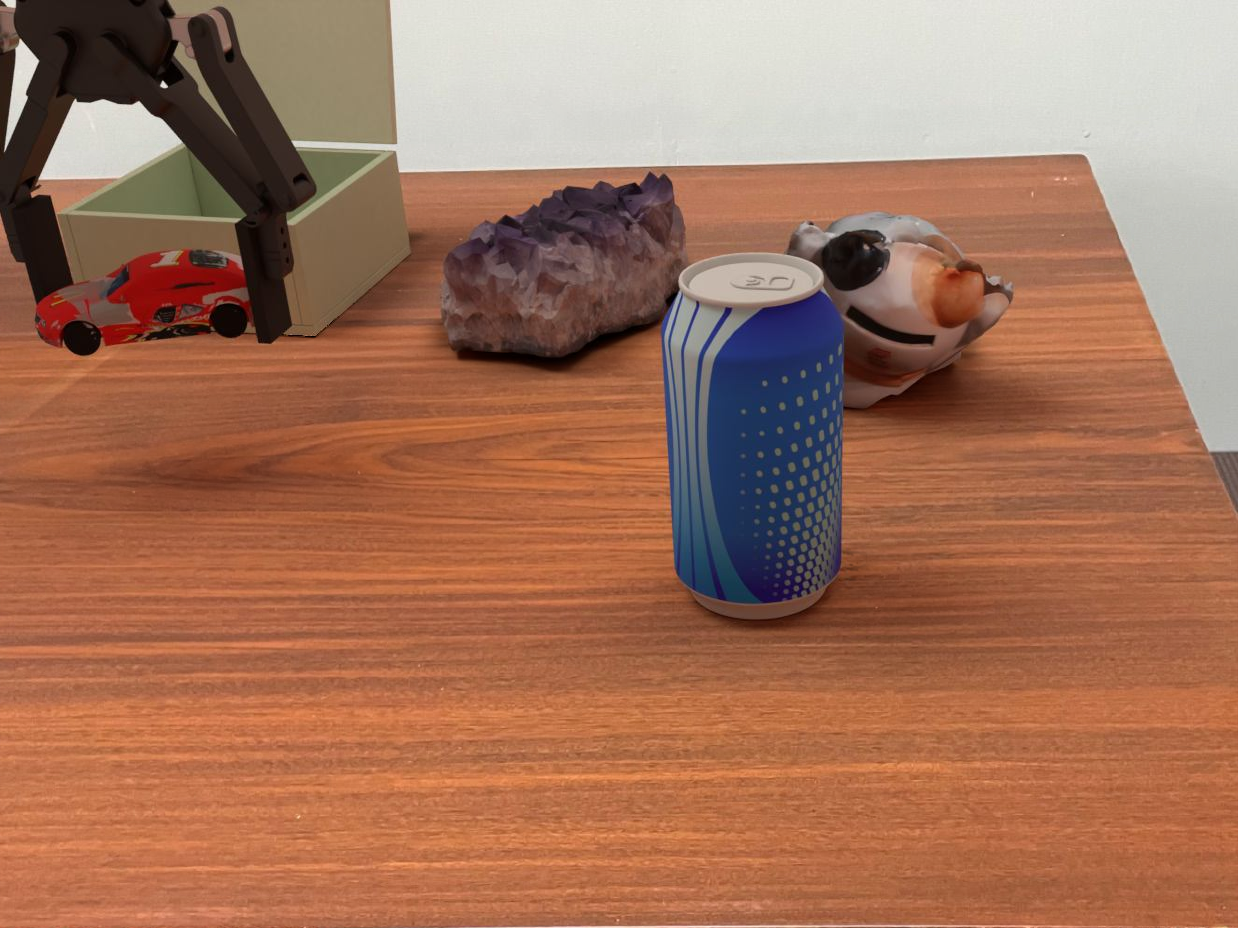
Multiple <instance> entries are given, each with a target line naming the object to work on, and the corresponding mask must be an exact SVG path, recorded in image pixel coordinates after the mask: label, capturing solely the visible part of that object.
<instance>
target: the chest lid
mask: <svg viewBox="0 0 1238 928" xmlns="http://www.w3.org/2000/svg"><path fill="white" fill-rule="evenodd" d="M168 1H169V3H170V5H171V7H172V8H173V10H174V11H175V13H176V14H195V13H203V12H205V11H207V10H210V9H212V8H214V7H217V6H221V7H224V8H226V9H227V10H228V11H229V12H230V13H231V15H232V18H233V21H234V25H235V29H236V33H237V37H238V41H239V45H240V49H241V53H242V55H243V57H244V59H245V60H246V62H247V64H248V66H249V67H250V69H251V71H252V73H253V75H254V76H255V78H256V80H257V82H258V83H259V85H260V87H261V89H262V90H263V92H264V94H265V96H266V97H267V99H268V101H269V103H270V104H271V106H272V108H273V110H274V111H275V113H276V115H277V117H278V118H279V120H280V122H281V124H282V125H283V127H284V129H285V131H286V132H287V134H288V136H289V138H290V139H291V141H292V142H293V141H294V142H316V143H317V142H318V143H319V142H320V143H342V144H343V143H344V144H345V143H346V144H370V145H371V144H372V145H373V144H374V145H398V131H397V129H398V128H397V109H396V92H395V89H396V88H395V71H394V69H395V68H394V52H393V50H394V49H393V34H392V33H393V31H392V15H391V0H168ZM174 56H175V57H176V59H177V60H178V61H179V62H180V63H181V64H182V65H183V67H184V68H185V69H186V70H187V71H188V72H189V74H190V75H191V76H192V77H193V78H194V79H195V81H196V82H197V84H198V91H199V93H200V94H201V95H202V97H203V98H204V99H205V100H206V101H207V102H208V103H209V105H210V106H211V107H212V108H213V109H214V110H215V112H216V113H217V114H218V115H219V116H220V117H221V119H222V120H223V121H224V122H225V123H226V124H227V125H228V127H229V128H230V129H231V130H232V131H233V132H234V130H233V129H232V127H231V125H230V123H229V122H228V120H227V118H226V117H225V115H224V113H223V112H222V110H221V108H220V106H219V105H218V103H217V101H216V100H215V98H214V96H213V94H212V93H211V91H210V89H209V88H208V86H207V84H206V82H205V80H204V78H203V77H202V74H201V72H200V70H199V67H198V65H197V62H196V60H194V59H192V58H189V57H188V56H187V55H186V53H185V46H184V45H183V44H182V43H181V42H179V43H178V46H177V48H176V50H175V53H174ZM234 134H235V132H234ZM235 135H236V134H235ZM236 136H237V135H236Z"/></svg>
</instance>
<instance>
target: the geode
mask: <svg viewBox="0 0 1238 928" xmlns="http://www.w3.org/2000/svg"><path fill="white" fill-rule="evenodd" d="M675 201H676V200H675V193H674V184H673V182H672V180H671V179H670V177H669V176H668V175H667V174H666V173H665V172H663V173H661V175H660V176H659V177H658V176H657V175H656V174H655V173H653V172H652V171H648V173H647V174H646V176H645V178H644V179H643V181H642V182H640V184H638V183H637V182H630V183H627V184H623V185H619V186H617V187H615V186H613V185H612V183H610V182H606V181H603V180H599V181H598V182H597V183H596V184H594V186H593V187H592V188H589V187H582V186H571V185H566V186H565V187H564V188H563V189H553V190H552V194H551V195H550V197H543V198H542V200H541V201H540V203H539V205H538V206H537V205H536V204H532V205H531V206H530V207H529V208H528V209H527V210H526V211H524V212H523V213H521V214H520V213H519V214H517V213H516V214H515V215H514V216H511V215H508V214H506V213H505V214H504V215H503V216H502V217H501V218H499V219H498V220H496V222H495V223H493V222H490V220H488V219H487V220H486V219H485V220H484V221H483V222H480V223H479V224H478V225H477V226H475V227H474V228H473V229H472V230H471V231H470V234H469V236H468V240H467V241H465V242H462V243H461V244H459V245H456V246H455V247H454V248H452V249H451V250H449V251H448V253H447V255H446V257H445V259H444V261H443V263H442V264H443V265H442V269H443V270H442V271H443V275H444V278H445V279H443V280H442V281H441V282H440V287H441V293H440V294H439V297H440V306H439V308H440V315H441V320H442V323H443V328H444V331H445V333H446V335H447V338H448V341H449V346H450V349H451V350H452V351H453V352H455V351H463V350H469V351H475V352H490V353H491V352H492V353H515V354H516V353H517V354H522V355H533V356H537V357H541V358H560V359H561V358H564V357H566V356H567V355H569V354H573V353H577V352H579V351H580V350H581V349H583V348H584V347H585V346H586V345H587V343H591V342H593V341H594V340H596V339H597V338H598V337H599V336H601V335H606V334H612V333H620V332H624V331H626V330H628V329H630V328H632V327H634V326H644V325H648V324H651V323H653V322H657V321H658V320H660V319H661V318H662V317H663V315H664V314H665V313H666V312H667V308H668V305H667V302H666V300H668V299H669V298H670V297H672V295H673V294H674V295H675V294H678V292H679V290H680V288H679V283H678V280H679V276H680V274H681V273H682V272H683V271H684V270H685V269H686V268H687V267H689V266H691V264H690V260H689V255H688V250H687V237H686V233H685V232H686V228H687V227H686V225H685V220H684V215H683V213H682V211H681V207H680V206H679V205H678V204H676V202H675Z"/></svg>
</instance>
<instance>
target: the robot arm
mask: <svg viewBox="0 0 1238 928" xmlns="http://www.w3.org/2000/svg"><path fill="white" fill-rule="evenodd" d="M20 41H21V42H22V43H23V44H24V45H25V47H26V48H27V49H28V50H29V51H30V52H31V53H32V54H33V56H34V57H35V58H36V60H38V62H37V64H36V67H35V70H34V72H33V74H32V77H31V79H30V81H29V84H28V85H27V88H26V91H25V96H26V97H27V98H26V101H25V103H24V105H23V108H22V110H21V113H20V114H19V117H18V119H17V121H16V124H15V126H14V129H13V132H12V134H11V136H10V138H9V141H8V142H7V145H6V141H7V133H8V125H9V117H10V111H11V110H10V109H11V102H12V92H13V85H14V79H15V78H14V77H15V70H16V69H15V68H16V62H17V61H16V59H17V50H16V49H17V48H18V47H19V45H20ZM179 42H181V43H182V44H183V45H184V46H185V53H186V55H187V56H188V57H189V58H192V59H194V60H196V62H197V65H198V67H199V70H200V72H201V74H202V77H203V78H204V80H205V82H206V84H207V86H208V88H209V89H210V91H211V93H212V94H213V96H214V98H215V100H216V101H217V103H218V105H219V106H220V108H221V110H222V112H223V113H224V115H225V117H226V118H227V120H228V122H229V123H230V125H231V127H232V129H233V130H234V132H235V134H236V135H237V136H236V135H235V134H234V132H233V131H232V130H231V129H230V128H229V127H228V125H227V124H226V123H225V122H224V121H223V120H222V119H221V117H220V116H219V115H218V114H217V113H216V112H215V110H214V109H213V108H212V107H211V106H210V105H209V103H208V102H207V101H206V100H205V99H204V98H203V97H202V95H201V94H200V93H199V91H198V84H197V82H196V81H195V79H194V78H193V77H192V76H191V75H190V74H189V72H188V71H187V70H186V69H185V68H184V67H183V65H182V64H181V63H180V62H179V61H178V60H177V59H176V57H175V56H174V53H175V50H176V48H177V46H178V43H179ZM162 83H164V84H165V85H166V86H167V87H163V86H161V85H162ZM102 100H104V101H108V102H111V103H112V104H113V103H114V104H116V105H123V106H125V105H126V106H132V105H134V104H136V103H138V102H139V103H140V104H141V106H143V107H144V109H145V110H146V111H147V112H148V113H149V114H150V115H151V116H153V117H155V118H159V119H160V120H162V121H163V122H164V123H165V124H166V126H168V128H169V129H170V130H171V131H172V132H173V133H174V134H175V136H176V137H177V138H178V139H179V141H181V143H184V144H185V146H186V147H187V148H188V149H189V150H190V151H191V152H192V153H193V155H194V156H195V157H196V158H197V159H198V160H199V161H200V163H201V164H202V165H203V166H204V167H205V168H206V169H207V171H208V172H209V173H210V174H211V175H212V176H213V177H214V179H215V180H216V181H217V182H218V183H219V184H220V185H221V186H222V188H223V189H224V190H225V191H226V192H227V193H228V194H229V196H230V197H231V198H232V199H233V200H234V201H235V202H236V204H237V205H238V206H239V207H240V208H241V209H242V210H243V211H244V213H245V214H246V215H247V216H245V217H244V218H242V219H241V220H239V221H238V222H236V223H235V224H234V225H235V230H236V235H237V240H238V245H239V250H240V255H241V260H242V265H243V270H244V275H245V280H246V285H247V290H248V295H249V300H250V305H251V310H252V315H253V320H254V325H255V330H256V333H255V335H256V341H257V344H262V345H263V344H264V345H272V344H273V342H275V341H277V340H278V339H279V338H280V337H281V336H283V335H282V334H283V333H284V332H286V331H287V330H288V329H289V328H290V327H291V326H292V321H291V316H290V310H289V305H288V300H287V294H286V289H285V283H284V278H285V277H286V276H287V275H288V274H290V273H291V272H292V271H293V267H294V258H293V253H292V247H291V241H290V235H289V230H288V224H287V218H286V215H287V212H293V211H294V210H295V209H297V208H298V207H300V206H301V205H302V204H304V203H305V202H307V201H308V200H309V199H311V198H312V197H313V196H314V195H315V194H316V192H317V186H316V184H315V181H314V180H313V178H312V176H311V174H310V173H309V171H308V169H307V167H306V166H305V164H304V162H303V160H302V159H301V157H300V155H299V153H298V152H297V150H296V148H295V147H296V146H295V144H294V143H293V141H291V139H290V138H289V136H288V134H287V132H286V131H285V129H284V127H283V125H282V124H281V122H280V120H279V118H278V117H277V115H276V113H275V111H274V110H273V108H272V106H271V104H270V103H269V101H268V99H267V97H266V96H265V94H264V92H263V90H262V89H261V87H260V85H259V83H258V82H257V80H256V78H255V76H254V75H253V73H252V71H251V69H250V67H249V66H248V64H247V62H246V60H245V59H244V57H243V55H242V53H241V49H240V45H239V41H238V37H237V33H236V29H235V25H234V21H233V18H232V15H231V13H230V12H229V11H228V10H227V9H226V8H224V7H221V6H217V7H214V8H212V9H210V10H207V11H205V12H203V13H195V14H176V13H175V11H174V10H173V8H172V7H171V5H170V3H169V1H168V0H15V7H12V6H8V5H7V4H6V2H4V1H3V0H0V218H1V223H2V226H3V230H4V233H5V235H6V236H5V237H6V240H7V243H8V247H9V250H10V254H11V255H12V257H13V258H14V260H15V261H16V263H21V264H22V263H23V264H24V265H25V268H26V272H27V275H28V279H29V282H30V283H29V284H30V286H31V290H32V294H33V297H34V300H35V304H36V306H37V305H38V304H39V302H40V301H41V300H43V299H44V298H45V297H47V296H48V295H50V294H51V293H53V292H55V291H58V290H60V289H62V288H64V287H67V286H70V285H73V284H75V282H74V278H73V276H72V275H73V274H72V270H71V266H70V263H69V259H68V255H67V251H66V247H65V244H64V240H63V236H62V232H61V228H60V225H59V221H58V217H57V213H56V211H55V206H54V203H53V199H52V195H51V194H37V195H34V196H32V193H33V192H35V191H37V190H39V189H40V188H41V187H42V185H41V184H38V183H39V182H38V181H39V179H40V177H41V175H42V173H43V170H44V168H45V166H46V164H47V162H48V159H49V157H50V155H51V152H52V150H53V148H54V146H55V144H56V142H57V139H58V137H59V135H60V134H61V133H60V132H61V130H62V128H63V126H64V123H65V121H66V119H67V117H68V116H69V115H68V114H69V113H70V111H71V108H72V105H73V104H74V102H75V101H76V103H82V104H83V103H84V104H92V103H95V102H98V101H102Z"/></svg>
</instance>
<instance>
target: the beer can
mask: <svg viewBox="0 0 1238 928" xmlns="http://www.w3.org/2000/svg"><path fill="white" fill-rule="evenodd" d="M678 283H679V288H680V290H679V292H678V293H676V296H675V298H674V299H673V302H672V303H671V306H670V307H669V309H668V310H667V311H666V312H667V313H666V314H665V316H664V318H663V321H662V324H661V328H660V339H661V352H662V353H661V354H662V355H661V357H662V372H663V374H662V375H663V388H664V389H663V391H664V409H665V410H664V411H665V426H666V427H665V428H666V442H667V461H668V462H667V463H668V478H669V494H670V495H669V496H670V497H669V498H670V511H671V512H670V513H671V529H672V530H671V531H672V546H673V547H672V551H673V565H674V571H675V574H676V576H677V578H678V580H679V581H680V583H681V584H682V585H684V586H685V587H686V589H688V590H690V593H691V595H692V596H693V598H694V599H695V601H696V602H697V603H698V604H700V605H701V606H702V607H704V608H705V609H706V610H709V611H711V612H713V613H715V614H717V615H721V616H724V617H728V618H734V619H740V620H771V619H778V618H783V617H788V616H792V615H795V614H797V613H800V612H802V611H804V610H806V609H808V608H810V607H811V606H813V605H814V604H816V603H817V602H818V601H819V600H820V599H821V597H822V596H823V595H824V593H825V592H826V590H827V588H828V586H829V585H830V584H832V582H834V580H835V579H836V578H837V576H838V574H839V573H840V570H841V566H842V537H843V535H842V534H843V533H842V532H843V531H842V527H843V526H842V525H843V450H844V449H843V447H844V446H843V445H844V443H843V441H844V438H843V436H844V407H843V360H844V326H843V320H842V318H841V315H840V313H839V312H838V310H837V308H836V307H835V305H834V303H833V302H832V300H831V298H830V297H829V295H828V294H827V292H826V290H825V289H824V287H823V283H824V275H823V272H822V270H821V269H820V268H819V267H818V266H816V265H815V264H813V263H812V262H809V261H807V260H805V259H802V258H798V257H794V256H790V255H784V253H775V252H761V251H760V252H753V251H752V252H736V253H728V254H721V255H717V256H712V257H709V258H705V259H702V260H699V261H697V262H695V263H693V264H690V266H689V267H687V268H686V269H685V270H684V271H683V272H682V273H681V274H680V276H679V280H678Z"/></svg>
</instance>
